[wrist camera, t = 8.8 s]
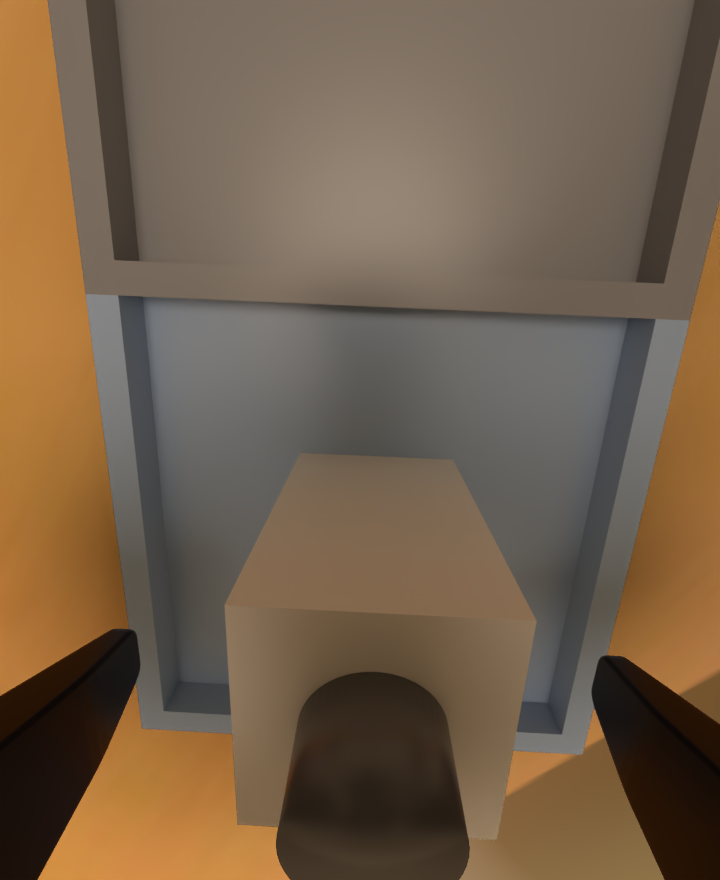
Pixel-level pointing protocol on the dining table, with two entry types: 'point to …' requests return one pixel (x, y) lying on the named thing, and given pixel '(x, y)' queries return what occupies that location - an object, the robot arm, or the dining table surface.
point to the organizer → (386, 286)
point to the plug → (375, 671)
